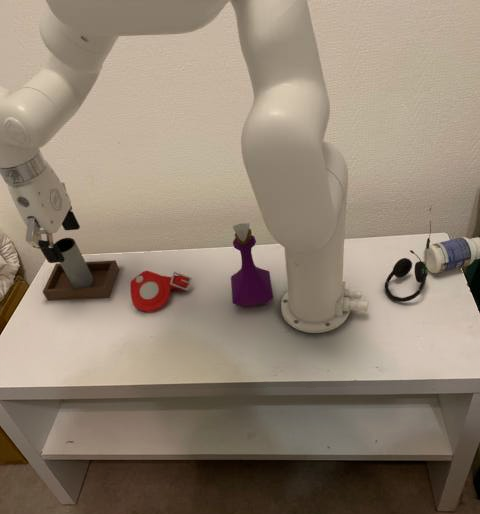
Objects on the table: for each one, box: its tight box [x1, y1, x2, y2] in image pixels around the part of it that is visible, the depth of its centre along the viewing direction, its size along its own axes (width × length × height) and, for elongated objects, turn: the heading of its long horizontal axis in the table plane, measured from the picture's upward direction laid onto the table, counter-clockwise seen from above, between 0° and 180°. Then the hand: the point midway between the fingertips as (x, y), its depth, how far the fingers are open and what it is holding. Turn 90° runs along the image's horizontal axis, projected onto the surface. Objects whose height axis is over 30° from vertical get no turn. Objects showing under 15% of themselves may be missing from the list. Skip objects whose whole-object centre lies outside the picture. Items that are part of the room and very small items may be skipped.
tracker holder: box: [129, 270, 193, 313], centre depth 96 cm, size 12×4×10 cm
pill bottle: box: [423, 236, 480, 274], centre depth 89 cm, size 5×5×10 cm
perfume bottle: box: [230, 222, 274, 309], centre depth 86 cm, size 8×8×18 cm
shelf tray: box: [42, 259, 120, 301], centre depth 101 cm, size 14×9×3 cm, turn 86°
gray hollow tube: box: [54, 237, 94, 288], centre depth 98 cm, size 4×4×10 cm
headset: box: [384, 205, 432, 303], centre depth 86 cm, size 7×7×20 cm
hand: (65, 244), depth 94 cm, fingers open, 9 cm apart
